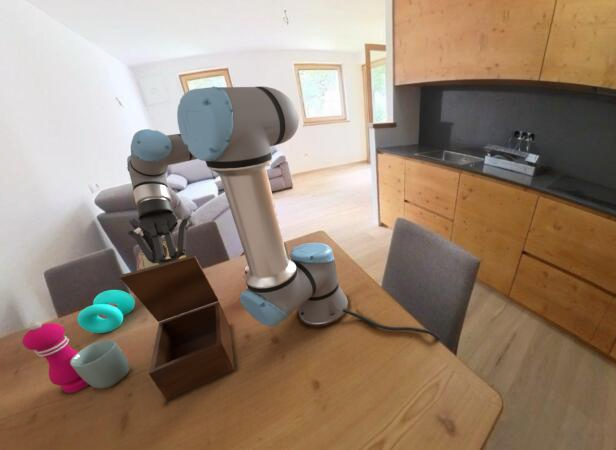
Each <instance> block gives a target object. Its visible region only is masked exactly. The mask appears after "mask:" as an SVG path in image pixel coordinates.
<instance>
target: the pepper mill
mask: <svg viewBox="0 0 616 450" xmlns="http://www.w3.org/2000/svg"><path fill="white" fill-rule="evenodd" d="M28 329H29V330H28V331H27V332H26V333H25V334H24V335H23V337H22V339H21V341H22V345H23V346H24V348H25V349H27V350H31V351H34V353H35V354H36V355H37V357H42V358H44V359H45V360H46V361H47V363H48V378H49V380H50V382H51V383H52V384H53V385H56V386H60V389H62V390H63V391H64V392H65V393H67V394H68V393H76V392H79V391H81V390H83V389H84V388H87V387H88V386H90V385H89V384H87V383H86V382H85V381H84V380H83V379H82V378H81V377H80V376H79V375H78V374H77V373H76V371H75V370H74V369H73V368H72V366H71V364H70V362H71V359H72V358H73V357H74V356H75V355H76V354H77V353H78V352H79V351H80V350H79V351H78V350H75V349H74V348H72V346H70V345H69V342H70V339H69V338H68V336H66V335H65V333H66V330H65V328H64V327H63V325H61V324H60V323H57V322H56V323H55V322H47V323H42V322H40V321H33V322H31V323H30V324H29V325H28Z"/></svg>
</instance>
